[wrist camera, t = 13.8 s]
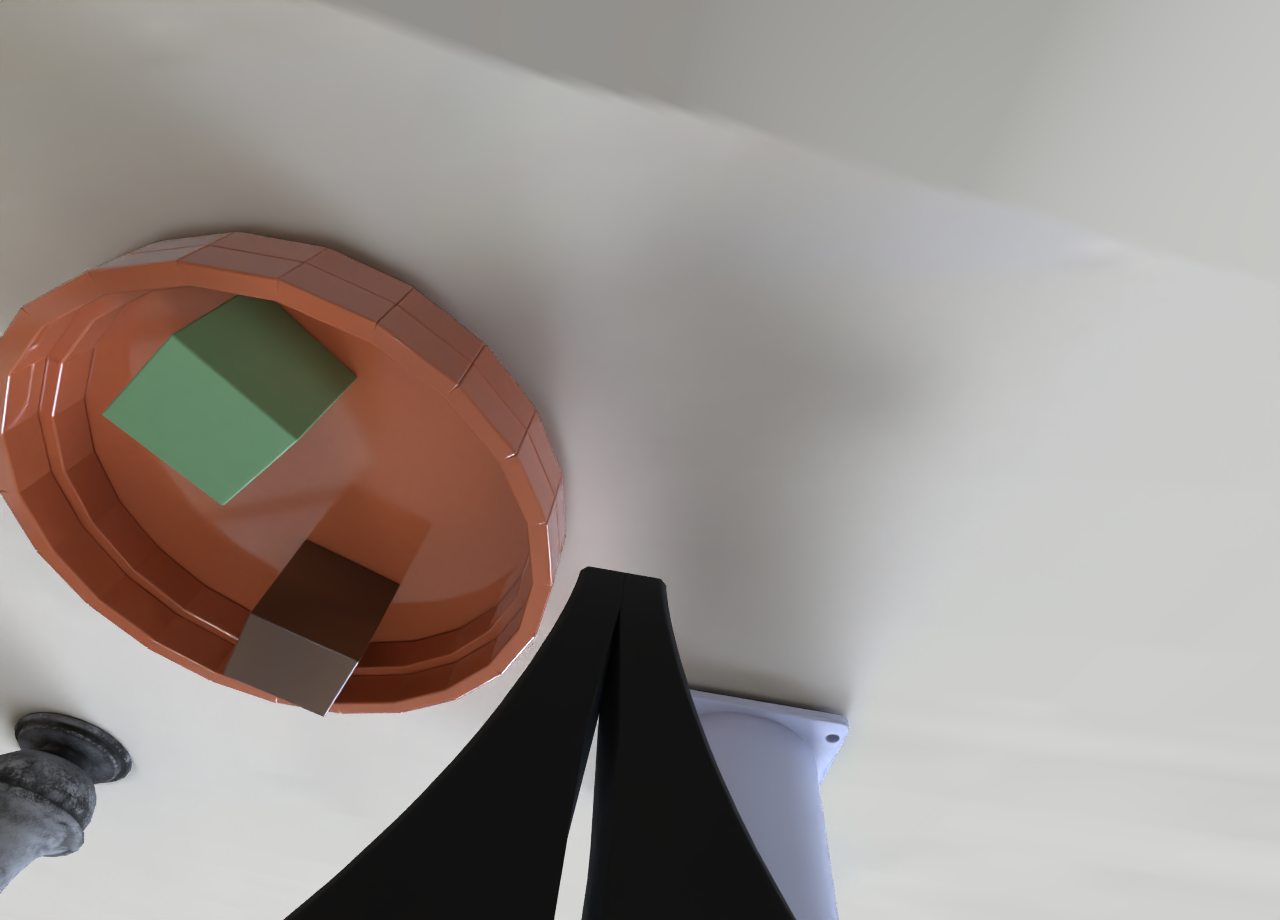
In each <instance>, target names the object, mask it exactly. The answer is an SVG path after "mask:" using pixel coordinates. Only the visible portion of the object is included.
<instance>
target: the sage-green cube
mask: <svg viewBox="0 0 1280 920" xmlns="http://www.w3.org/2000/svg"><path fill="white" fill-rule="evenodd" d="M356 379H357V376H356V375H354V374H353V373H352V372H351V371H350V370H349V369H348V368H347V367H346V366H345V365H344V364H343V363H341V362H340V361H339V360H338V359H337V358H336V357H335V356H334V355H333V354H332V353H331V352H329V351H328V350H327V349H326V348H325V347H324V346H323V345H322V344H321V343H320V342H319V341H318V340H316V339H315V338H314V337H313V336H312V335H311V334H310V333H309V332H308V331H307V330H306V329H304V328H303V327H302V326H301V325H300V324H299V323H298V322H297V321H296V320H295V319H294V318H293V317H291V316H290V315H289V314H288V313H287V312H286V311H285V310H284V309H283V308H282V307H281V306H279V305H278V304H277V303H276V302H275V301H272V300H267V299H261V298H255V297H250V296H244V295H236V296H234V297H233V298H231V299H230V300H228V301H226V302H225V303H223V304H221V305H220V306H218V307H216V308H215V309H213V310H211V311H210V312H208V313H206V314H205V315H203V316H201V317H200V318H198V319H196V320H195V321H193V322H191V323H190V324H188V325H186V326H185V327H183V328H182V329H180V330H178V331H177V332H175V333H173V334H172V335H171V336H170V337H169V338H168V339H167V340H166V341H165V342H164V343H163V345H162V346H161V347H160V348H159V349H158V350H157V351H156V353H155V354H154V355H153V356H152V357H151V358H150V359H149V360H148V362H147V363H146V364H145V365H144V366H143V367H142V368H141V370H140V371H139V372H138V373H137V374H136V375H135V376H134V377H133V379H132V380H131V381H130V382H129V383H128V384H127V385H126V387H125V388H124V389H123V390H122V391H121V392H120V393H119V394H118V396H117V397H116V398H115V399H114V400H113V401H112V402H111V404H110V405H109V406H108V407H107V408H106V409H105V410H104V411H103V413H102V415H103V416H104V417H106V418H107V419H108V420H110V421H111V422H112V423H114V424H115V425H116V426H118V427H119V428H120V429H122V430H123V431H124V432H126V433H127V434H128V435H130V436H131V437H132V438H134V439H135V440H136V441H137V442H139V443H140V444H141V445H143V446H144V447H145V448H147V449H148V450H149V451H151V452H152V453H153V454H155V455H156V456H157V457H159V458H160V459H161V460H163V461H164V462H165V463H167V464H168V465H169V466H171V467H172V468H173V469H175V470H176V471H177V472H178V473H180V474H181V475H182V476H184V477H185V478H186V479H188V480H189V481H190V482H192V483H193V484H194V485H196V486H197V487H198V488H200V489H201V490H202V491H204V492H205V493H206V494H208V495H209V496H210V497H212V498H213V499H214V500H216V501H217V502H218V503H219V504H221V505H225V504H226V503H227V502H229V501H230V500H231V499H232V498H233V497H234V496H235V495H237V494H238V493H239V492H240V491H241V490H242V489H243V488H245V487H246V486H247V485H248V484H249V483H250V482H251V481H253V480H254V479H255V478H256V477H257V476H258V475H259V474H260V473H262V472H263V471H264V470H265V469H266V468H267V467H268V466H270V465H271V464H272V463H273V462H274V461H275V460H276V459H278V458H279V457H280V456H281V455H282V454H283V453H284V452H286V451H287V450H288V449H289V448H290V447H291V446H292V445H294V444H295V443H296V442H297V441H298V440H299V439H300V438H301V437H302V436H303V435H304V434H305V433H306V432H307V431H308V430H309V428H310V427H311V426H312V425H313V424H314V423H315V422H316V421H317V420H318V419H319V418H320V417H321V416H322V415H323V414H324V413H325V412H326V411H327V410H328V409H329V407H330V406H331V405H332V404H333V403H334V402H335V401H336V400H337V399H338V398H339V397H340V396H341V395H342V394H343V393H344V392H345V391H346V390H347V389H348V388H349V387H350V385H351V384H352V383H353V382H354V381H355V380H356Z"/></svg>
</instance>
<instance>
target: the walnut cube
mask: <svg viewBox="0 0 1280 920" xmlns="http://www.w3.org/2000/svg"><path fill="white" fill-rule="evenodd" d="M399 586H400V584H398V583H396V582H394V581H392V580H390V579H388V578H386V577H384V576H382V575H379V574H377V573H375V572H373V571H371V570H369V569H367V568H365V567H363V566H361V565H359V564H357V563H355V562H353V561H351V560H348V559H346V558H344V557H342V556H340V555H338V554H336V553H334V552H332V551H330V550H328V549H326V548H324V547H322V546H320V545H317V544H315V543H313V542H311V541H309V540H305V541H304V542H303V544H302V545H301V546H300V548H299V549H298V550H297V552H296V553H295V554H294V556H293V557H292V558H291V560H290V561H289V562H288V564H287V565H286V566H285V568H284V569H283V570H282V571H281V573H280V574H279V575H278V577H277V578H276V579H275V581H274V582H273V583H272V585H271V586H270V587H269V589H268V590H267V591H266V593H265V594H264V595H263V597H262V598H261V599H260V600H259V602H258V603H257V604H256V606H255V607H254V608H253V610H252V611H251V612H250V614H249V616H248V618H247V621H246V623H245V625H244V627H243V630H242V632H241V634H240V636H239V638H238V641H237V643H236V645H235V647H234V650H233V652H232V654H231V656H230V658H229V661H228V663H227V665H226V667H225V670H224V672H223V674H224V675H226V676H228V677H231V678H233V679H235V680H238V681H240V682H242V683H245V684H247V685H250V686H252V687H254V688H257V689H259V690H261V691H264V692H266V693H269V694H271V695H273V696H276V697H278V698H280V699H283V700H285V701H288V702H290V703H292V704H295V705H297V706H299V707H302V708H304V709H307V710H309V711H311V712H314V713H316V714H318V715H321V716H325V715H326V714H327V712H328V711H329V709H330V708H331V706H332V704H333V703H334V701H335V700H336V698H337V696H338V695H339V693H340V692H341V690H342V688H343V687H344V685H345V684H346V682H347V681H348V679H349V677H350V676H351V674H352V673H353V671H354V669H355V668H356V666H357V665H358V663H359V661H360V660H361V658H362V656H363V654H364V652H365V650H366V648H367V646H368V645H369V643H370V641H371V639H372V637H373V635H374V633H375V631H376V630H377V628H378V626H379V624H380V622H381V620H382V618H383V616H384V615H385V613H386V611H387V609H388V607H389V605H390V603H391V601H392V600H393V598H394V596H395V594H396V592H397V590H398V588H399Z"/></svg>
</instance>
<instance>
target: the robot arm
mask: <svg viewBox="0 0 1280 920" xmlns="http://www.w3.org/2000/svg"><path fill="white" fill-rule="evenodd" d="M598 716H599V724H598V739H597V755H596V770H595V786H594V802H593V818H592V833H591V849H590V859H589V869H588V878H587V886H586V893H585V899H584V906H583V913H582V920H839V918H838V911H837V905H836V898H835V891H834V884H833V877H832V870H831V863H830V856H829V849H828V842H827V835H826V828H825V821H824V815H823V808H822V801H821V794H820V787H819V786H820V784H821V783H822V781H823V779H824V777H825V775H826V773H827V771H828V770H829V768H830V766H831V764H832V762H833V760H834V758H835V757H836V755H837V753H838V751H839V749H840V747H841V745H842V744H843V742H844V740H845V738H846V736H847V734H848V732H849V724H848V720H847V719H846V718H845V717H844V716H841V715H837V714H831V713H825V712H819V711H814V710H808V709H802V708H796V707H790V706H784V705H778V704H772V703H766V702H761V701H755V700H749V699H743V698H737V697H731V696H725V695H719V694H713V693H708V692H702V691H696V690H690V689H689V686H688V683H687V680H686V676H685V673H684V670H683V667H682V663H681V660H680V656H679V652H678V649H677V645H676V640H675V636H674V632H673V628H672V623H671V618H670V613H669V607H668V600H667V592H666V585H665V583H664V582H663V581H662V580H661V579H659V578H653V577H647V576H641V575H636V574H630V573H624V572H618V571H612V570H607V569H601V568H595V567H589V566H588V567H586V568H584V569H582V570H581V571H580V574H579V577H578V580H577V582H576V585H575V587H574V589H573V591H572V594H571V596H570V598H569V600H568V602H567V604H566V605H565V607H564V609H563V611H562V613H561V614H560V616H559V618H558V620H557V621H556V623H555V625H554V627H553V628H552V630H551V632H550V633H549V635H548V636H547V638H546V639H545V641H544V642H543V644H542V646H541V647H540V649H539V650H538V652H537V653H536V655H535V656H534V658H533V660H532V661H531V662H530V664H529V665H528V667H527V668H526V670H525V671H524V672H523V674H522V675H521V676H520V678H519V679H518V681H517V682H516V683H515V685H514V686H513V687H512V689H511V690H510V691H509V693H508V694H507V695H506V697H505V698H504V699H503V701H502V702H501V704H500V705H499V706H498V707H497V709H496V710H495V711H494V712H493V714H492V715H491V716H490V717H489V719H488V720H487V721H486V722H485V724H484V725H483V726H482V727H481V728H480V730H479V731H478V732H477V733H476V734H475V736H474V737H473V738H472V739H471V740H470V741H469V743H468V744H467V745H466V746H465V747H464V748H463V750H462V751H461V752H460V753H459V754H458V755H457V756H456V758H455V759H454V760H453V761H452V762H451V763H450V764H449V765H448V766H447V767H446V768H445V769H444V771H443V772H442V773H441V774H440V775H439V776H438V777H437V778H436V779H435V780H434V781H433V782H432V783H431V784H430V785H429V787H428V788H427V789H426V790H425V791H424V792H423V793H422V794H421V795H420V796H419V797H418V798H417V799H416V800H415V801H414V802H413V803H412V804H411V805H410V806H409V807H408V808H407V809H406V810H405V811H404V812H403V813H402V814H401V815H400V816H399V817H398V818H397V819H396V820H395V821H394V822H393V823H392V824H391V825H390V826H389V827H388V828H386V829H385V830H384V831H383V832H382V833H381V834H380V835H379V836H378V837H377V838H376V839H375V840H374V841H373V842H372V843H370V844H369V845H368V846H367V847H366V848H365V849H364V850H363V851H362V852H361V853H360V854H359V855H358V856H357V857H355V858H354V859H353V860H352V861H351V862H350V863H349V864H348V865H347V866H346V867H345V868H344V869H343V870H341V871H340V872H339V873H338V874H337V875H336V876H335V877H334V878H332V879H331V880H330V881H329V882H328V883H327V884H326V885H324V886H323V887H322V888H321V889H320V890H318V891H317V892H316V893H315V894H314V895H312V896H311V897H310V898H309V899H308V900H306V901H305V902H304V903H303V904H302V905H300V906H299V907H298V908H297V909H296V910H294V911H293V912H292V913H291V914H290V915H289V916H287V917H286V918H285V919H284V920H554V916H555V910H556V904H557V898H558V892H559V886H560V880H561V874H562V868H563V862H564V856H565V850H566V844H567V838H568V834H569V830H570V826H571V822H572V818H573V814H574V810H575V806H576V803H577V799H578V795H579V791H580V787H581V783H582V779H583V775H584V771H585V767H586V763H587V759H588V755H589V751H590V747H591V744H592V740H593V736H594V732H595V728H596V724H597V720H598Z"/></svg>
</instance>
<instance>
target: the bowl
mask: <svg viewBox="0 0 1280 920" xmlns="http://www.w3.org/2000/svg"><path fill="white" fill-rule="evenodd" d="M236 295H244V296H250V297H255V298H261V299H267V300H272V301H275V302H276V303H277V304H278V305H279V306H281V307H282V308H283V309H284V310H285V311H286V312H287V313H288V314H289V315H290V316H291V317H293V318H294V319H295V320H296V321H297V322H298V323H299V324H300V325H301V326H302V327H303V328H304V329H306V330H307V331H308V332H309V333H310V334H311V335H312V336H313V337H314V338H315V339H316V340H318V341H319V342H320V343H321V344H322V345H323V346H324V347H325V348H326V349H327V350H328V351H329V352H331V353H332V354H333V355H334V356H335V357H336V358H337V359H338V360H339V361H340V362H341V363H343V364H344V365H345V366H346V367H347V368H348V369H349V370H350V371H351V372H352V373H353V374H354V375H356V376H357V379H356V380H355V381H354V382H353V383H352V384H351V385H350V387H349V388H348V389H347V390H346V391H345V392H344V393H343V394H342V395H341V396H340V397H339V398H338V399H337V400H336V401H335V402H334V403H333V404H332V405H331V406H330V407H329V409H328V410H327V411H326V412H325V413H324V414H323V415H322V416H321V417H320V418H319V419H318V420H317V421H316V422H315V423H314V424H313V425H312V426H311V427H310V428H309V430H308V431H307V432H306V433H305V434H304V435H303V436H302V437H301V438H300V439H299V440H298V441H297V442H296V443H295V444H294V445H292V446H291V447H290V448H289V449H288V450H287V451H286V452H284V453H283V454H282V455H281V456H280V457H279V458H278V459H276V460H275V461H274V462H273V463H272V464H271V465H270V466H268V467H267V468H266V469H265V470H264V471H263V472H262V473H260V474H259V475H258V476H257V477H256V478H255V479H254V480H253V481H251V482H250V483H249V484H248V485H247V486H246V487H245V488H243V489H242V490H241V491H240V492H239V493H238V494H237V495H235V496H234V497H233V498H232V499H231V500H230V501H229V502H227V503H226V504H225V505H221V504H219V503H218V502H217V501H216V500H214V499H213V498H212V497H210V496H209V495H208V494H206V493H205V492H204V491H202V490H201V489H200V488H198V487H197V486H196V485H194V484H193V483H192V482H190V481H189V480H188V479H186V478H185V477H184V476H182V475H181V474H180V473H178V472H177V471H176V470H175V469H173V468H172V467H171V466H169V465H168V464H167V463H165V462H164V461H163V460H161V459H160V458H159V457H157V456H156V455H155V454H153V453H152V452H151V451H149V450H148V449H147V448H145V447H144V446H143V445H141V444H140V443H139V442H137V441H136V440H135V439H134V438H132V437H131V436H130V435H128V434H127V433H126V432H124V431H123V430H122V429H120V428H119V427H118V426H116V425H115V424H114V423H112V422H111V421H110V420H108V419H107V418H106V417H104V416H103V415H102V413H103V411H104V410H105V409H106V408H107V407H108V406H109V405H110V404H111V402H112V401H113V400H114V399H115V398H116V397H117V396H118V394H119V393H120V392H121V391H122V390H123V389H124V388H125V387H126V385H127V384H128V383H129V382H130V381H131V380H132V379H133V377H134V376H135V375H136V374H137V373H138V372H139V371H140V370H141V368H142V367H143V366H144V365H145V364H146V363H147V362H148V360H149V359H150V358H151V357H152V356H153V355H154V354H155V353H156V351H157V350H158V349H159V348H160V347H161V346H162V345H163V343H164V342H165V341H166V340H167V339H168V338H169V337H170V336H171V335H172V334H173V333H175V332H177V331H178V330H180V329H182V328H183V327H185V326H186V325H188V324H190V323H191V322H193V321H195V320H196V319H198V318H200V317H201V316H203V315H205V314H206V313H208V312H210V311H211V310H213V309H215V308H216V307H218V306H220V305H221V304H223V303H225V302H226V301H228V300H230V299H231V298H233V297H234V296H236ZM0 493H1V495H2V497H3V498H4V500H5V501H6V503H7V505H8V506H9V508H10V509H11V511H12V513H13V514H14V516H15V517H16V519H17V521H18V522H19V524H20V526H21V527H22V529H23V530H24V532H25V534H26V535H27V537H28V538H29V540H30V542H31V543H32V545H33V546H34V548H35V549H36V550H38V551H37V552H38V553H39V554H40V555H41V557H42V558H43V559H44V560H45V561H46V562H47V563H48V564H49V565H50V566H51V567H52V568H53V569H54V570H55V571H56V572H57V573H58V574H59V575H60V576H61V577H62V578H63V579H64V580H65V581H66V583H67V584H68V585H69V586H70V587H71V588H72V589H73V590H74V591H75V592H76V593H77V594H78V595H79V596H80V597H81V598H82V599H83V600H84V601H85V602H86V603H88V604H89V606H91V607H92V608H94V609H95V610H96V611H98V612H99V613H100V614H102V615H103V616H104V617H106V618H107V619H109V620H110V621H111V622H113V623H114V624H115V625H117V626H118V627H119V628H121V629H122V630H124V631H125V632H126V633H128V634H129V635H130V636H132V637H133V638H135V639H136V640H137V641H139V642H140V643H141V644H143V645H144V646H146V647H148V649H150V650H152V651H154V652H156V653H158V654H160V655H162V656H163V657H165V658H167V659H169V660H171V661H173V662H175V663H177V664H179V665H181V666H183V667H185V668H187V669H189V670H191V671H193V672H194V673H196V674H198V675H200V676H202V677H204V678H206V679H208V680H211V681H212V682H215V683H218V684H221V685H224V686H227V687H230V688H233V689H236V690H239V691H242V692H245V693H248V694H251V695H254V696H257V697H260V698H263V699H266V700H269V701H272V702H275V703H276V702H277V703H280V704H286V705H292V706H297V705H295V704H292V703H290V702H288V701H285V700H283V699H280V698H278V697H276V696H273V695H271V694H269V693H266V692H264V691H261V690H259V689H257V688H254V687H252V686H250V685H247V684H245V683H242V682H240V681H238V680H235V679H233V678H231V677H228V676H226V675H224V674H223V672H224V670H225V667H226V665H227V663H228V661H229V658H230V656H231V654H232V652H233V650H234V647H235V645H236V643H237V641H238V638H239V636H240V634H241V632H242V630H243V627H244V625H245V623H246V621H247V618H248V616H249V614H250V612H251V611H252V610H253V608H254V607H255V606H256V604H257V603H258V602H259V600H260V599H261V598H262V597H263V595H264V594H265V593H266V591H267V590H268V589H269V587H270V586H271V585H272V583H273V582H274V581H275V579H276V578H277V577H278V575H279V574H280V573H281V571H282V570H283V569H284V568H285V566H286V565H287V564H288V562H289V561H290V560H291V558H292V557H293V556H294V554H295V553H296V552H297V550H298V549H299V548H300V546H301V545H302V544H303V542H304V541H305V540H309V541H311V542H313V543H315V544H317V545H320V546H322V547H324V548H326V549H328V550H330V551H332V552H334V553H336V554H338V555H340V556H342V557H344V558H346V559H348V560H351V561H353V562H355V563H357V564H359V565H361V566H363V567H365V568H367V569H369V570H371V571H373V572H375V573H377V574H379V575H382V576H384V577H386V578H388V579H390V580H392V581H394V582H396V583H398V584H400V586H399V588H398V590H397V592H396V594H395V596H394V598H393V600H392V601H391V603H390V605H389V607H388V609H387V611H386V613H385V615H384V616H383V618H382V620H381V622H380V624H379V626H378V628H377V630H376V631H375V633H374V635H373V637H372V639H371V641H370V643H369V645H368V646H367V648H366V650H365V652H364V654H363V656H362V658H361V660H360V661H359V663H358V665H357V666H356V668H355V669H354V671H353V673H352V674H351V676H350V677H349V679H348V681H347V682H346V684H345V685H344V687H343V688H342V690H341V692H340V693H339V695H338V696H337V698H336V700H335V701H334V703H333V704H332V706H331V708H330V709H329V711H328V712H334V713H342V714H350V713H401V712H407V711H411V710H416V709H420V708H424V707H428V706H432V705H437V704H441V703H445V702H449V701H454V700H456V699H459V698H461V697H462V696H464V695H466V694H468V693H470V692H471V691H473V690H475V689H477V688H479V687H480V686H482V685H484V684H486V683H488V682H489V681H491V680H493V679H495V678H496V677H498V676H500V675H501V674H502V673H504V672H505V671H506V669H507V668H508V667H509V666H510V665H511V664H512V663H513V661H514V660H515V659H516V658H517V657H518V656H519V654H520V653H521V652H522V651H523V650H524V649H525V648H526V646H527V645H528V644H529V643H530V642H531V641H532V639H533V638H534V637H535V636H536V634H537V632H538V629H539V626H540V622H541V619H542V616H543V613H544V610H545V607H546V604H547V601H548V598H549V595H550V592H551V588H552V585H553V582H554V578H555V574H556V570H557V567H558V563H559V559H560V555H561V552H562V548H563V544H564V540H565V537H566V520H565V504H564V488H563V477H562V471H561V469H560V466H559V464H558V461H557V459H556V456H555V454H554V451H553V449H552V447H551V444H550V442H549V439H548V437H547V434H546V432H545V429H544V427H543V424H542V422H541V419H540V417H539V415H538V412H537V410H535V406H534V405H533V404H532V402H531V401H530V400H529V399H528V397H527V396H526V395H525V393H524V392H523V391H522V390H521V388H520V387H519V386H518V384H517V383H516V382H515V381H514V379H513V378H512V377H511V375H510V374H509V373H508V372H507V370H506V369H505V368H504V366H503V365H502V364H501V363H500V361H499V360H498V359H497V357H496V356H495V355H494V354H493V352H492V351H491V350H490V348H489V347H488V346H487V345H484V343H483V342H482V341H481V340H480V339H479V338H477V337H476V336H475V335H474V334H472V333H471V332H470V331H468V330H467V329H466V328H465V327H463V326H462V325H461V324H460V323H458V322H457V321H456V320H454V319H453V318H452V317H451V316H449V315H448V314H447V313H445V312H444V311H443V310H442V309H440V308H439V307H438V306H437V305H435V304H434V303H433V302H431V301H430V300H429V299H428V298H426V297H425V296H424V295H423V294H421V293H420V292H419V291H417V290H416V289H413V286H411V285H408V284H406V283H404V282H402V281H400V280H397V279H395V278H393V277H391V276H389V275H387V274H384V273H382V272H380V271H378V270H376V269H373V268H371V267H369V266H367V265H365V264H363V263H360V262H358V261H356V260H354V259H352V258H349V257H347V256H345V255H343V254H341V253H339V252H336V251H334V250H332V249H330V248H326V247H321V246H316V245H310V244H304V243H299V242H293V241H288V240H282V239H277V238H271V237H265V236H260V235H254V234H249V233H243V232H237V233H235V232H230V233H222V234H213V235H205V236H197V237H189V238H181V239H173V240H165V241H158V242H154V243H151V244H149V245H147V246H144V247H142V248H140V249H137V250H135V251H132V252H130V253H128V254H125V255H123V256H120V257H118V258H116V259H113V260H111V261H109V262H106V263H104V264H101V265H99V266H97V267H94V268H92V269H90V270H87V271H85V272H83V273H81V274H80V275H78V276H76V277H74V278H72V279H71V280H69V281H67V282H65V283H63V284H62V285H60V286H58V287H56V288H54V289H52V290H51V291H49V292H47V293H45V294H43V295H42V296H40V297H38V298H36V299H34V300H33V301H31V302H29V303H27V304H25V305H24V306H23V307H22V308H21V309H20V310H19V312H18V313H17V315H16V316H15V318H14V319H13V321H12V322H11V324H10V325H9V327H8V328H7V330H6V331H5V333H4V334H3V336H2V338H1V339H0ZM298 707H299V706H298Z"/></svg>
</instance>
